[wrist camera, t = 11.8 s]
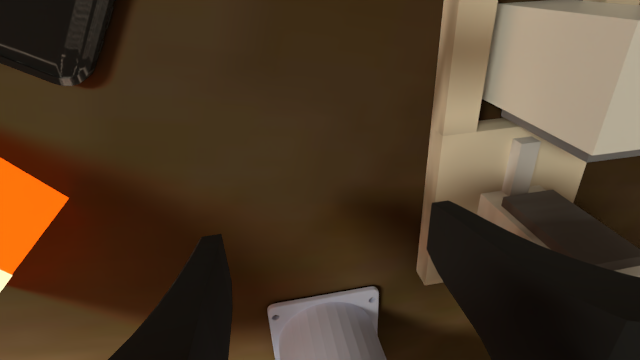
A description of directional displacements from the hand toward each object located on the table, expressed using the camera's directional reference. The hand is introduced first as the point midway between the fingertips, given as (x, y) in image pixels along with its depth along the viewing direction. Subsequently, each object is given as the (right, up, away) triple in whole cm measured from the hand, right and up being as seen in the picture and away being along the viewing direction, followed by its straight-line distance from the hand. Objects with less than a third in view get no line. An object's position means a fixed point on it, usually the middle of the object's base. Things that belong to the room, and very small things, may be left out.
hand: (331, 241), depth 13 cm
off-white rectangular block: (+11, +9, +8) cm, 16 cm away
